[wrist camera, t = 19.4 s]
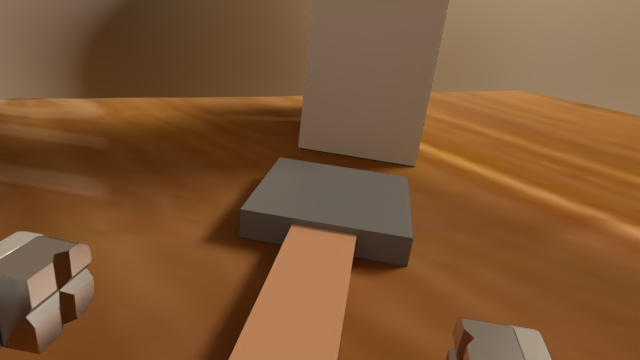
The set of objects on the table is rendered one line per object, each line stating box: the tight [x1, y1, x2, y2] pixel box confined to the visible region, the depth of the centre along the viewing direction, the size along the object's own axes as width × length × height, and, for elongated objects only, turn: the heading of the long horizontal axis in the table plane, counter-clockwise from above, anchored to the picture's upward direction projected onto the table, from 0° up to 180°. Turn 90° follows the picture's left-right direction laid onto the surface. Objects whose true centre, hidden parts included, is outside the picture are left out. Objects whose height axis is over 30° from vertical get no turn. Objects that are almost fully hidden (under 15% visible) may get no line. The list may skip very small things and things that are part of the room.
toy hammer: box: [229, 157, 413, 360], centre depth 20 cm, size 18×8×2 cm, turn 172°
